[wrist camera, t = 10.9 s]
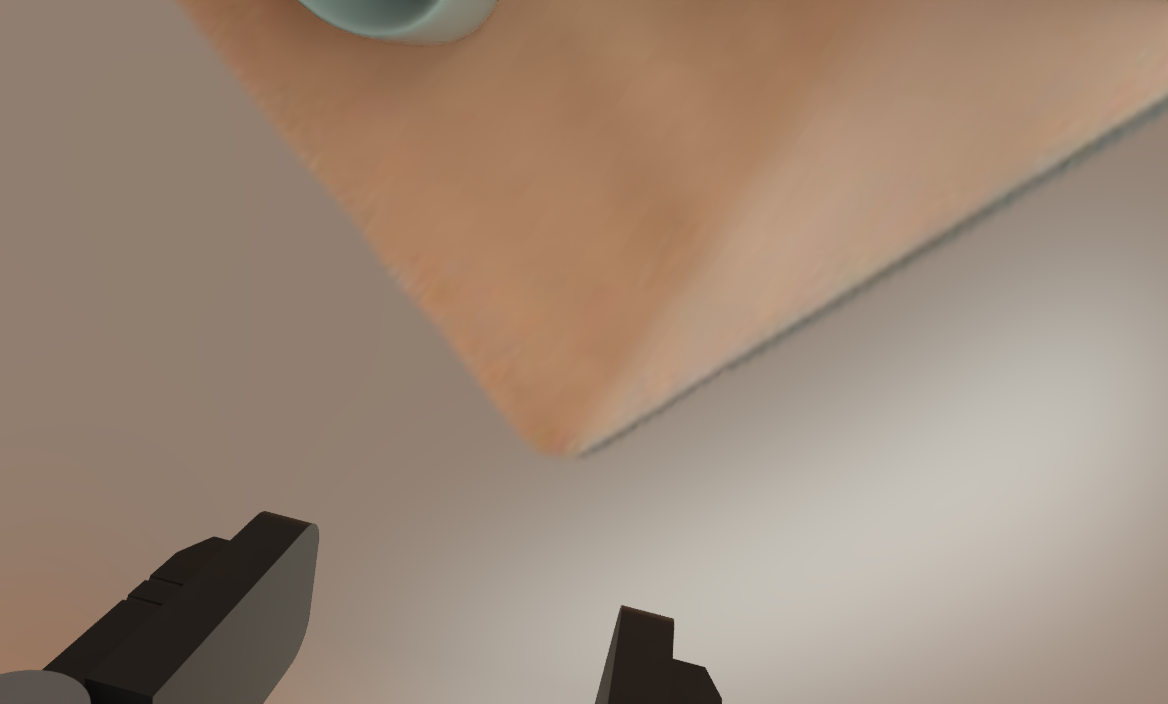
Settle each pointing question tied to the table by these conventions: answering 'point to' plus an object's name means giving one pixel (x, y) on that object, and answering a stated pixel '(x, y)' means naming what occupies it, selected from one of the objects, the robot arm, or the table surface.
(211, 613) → the robot arm
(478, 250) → the table surface
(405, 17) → the cup
